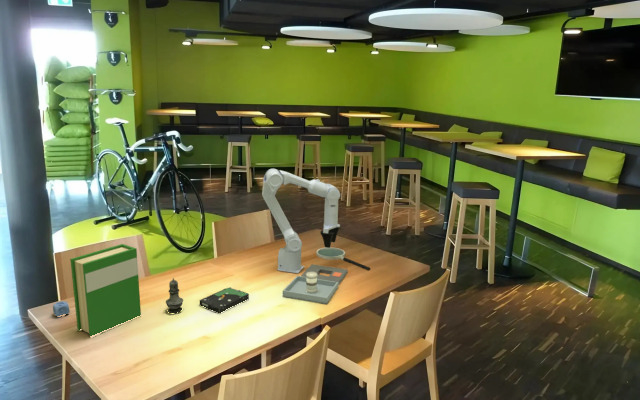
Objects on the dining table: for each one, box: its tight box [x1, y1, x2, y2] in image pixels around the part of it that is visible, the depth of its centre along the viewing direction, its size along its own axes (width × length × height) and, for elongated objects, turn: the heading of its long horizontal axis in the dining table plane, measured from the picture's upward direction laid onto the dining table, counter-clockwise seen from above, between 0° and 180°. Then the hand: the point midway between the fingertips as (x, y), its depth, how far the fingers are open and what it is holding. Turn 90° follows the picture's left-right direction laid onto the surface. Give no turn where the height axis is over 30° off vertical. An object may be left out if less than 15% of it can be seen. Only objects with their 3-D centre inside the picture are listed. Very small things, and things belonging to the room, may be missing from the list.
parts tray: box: [282, 275, 339, 305], centre depth 180 cm, size 17×15×2 cm
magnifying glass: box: [315, 246, 371, 271], centre depth 215 cm, size 13×31×2 cm, turn 42°
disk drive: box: [199, 287, 250, 314], centre depth 170 cm, size 10×3×15 cm
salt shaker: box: [165, 277, 184, 314], centre depth 162 cm, size 6×6×12 cm
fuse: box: [306, 272, 317, 293], centre depth 180 cm, size 4×4×7 cm
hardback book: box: [70, 243, 142, 337], centre depth 151 cm, size 18×7×24 cm, turn 146°
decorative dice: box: [52, 300, 70, 316], centre depth 158 cm, size 4×4×4 cm
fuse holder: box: [300, 263, 349, 286], centre depth 196 cm, size 16×14×2 cm
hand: (330, 244), depth 203 cm, fingers open, 7 cm apart
